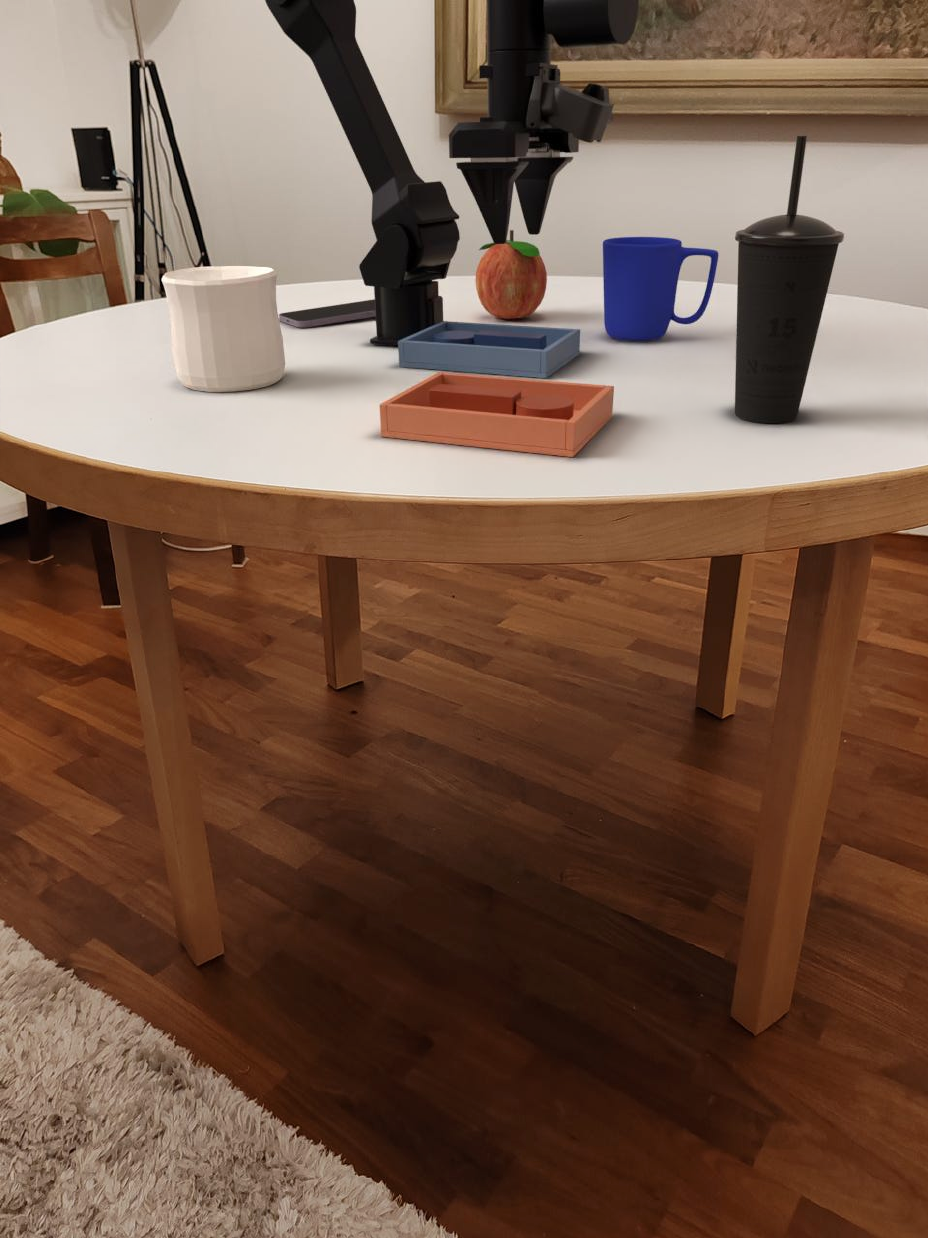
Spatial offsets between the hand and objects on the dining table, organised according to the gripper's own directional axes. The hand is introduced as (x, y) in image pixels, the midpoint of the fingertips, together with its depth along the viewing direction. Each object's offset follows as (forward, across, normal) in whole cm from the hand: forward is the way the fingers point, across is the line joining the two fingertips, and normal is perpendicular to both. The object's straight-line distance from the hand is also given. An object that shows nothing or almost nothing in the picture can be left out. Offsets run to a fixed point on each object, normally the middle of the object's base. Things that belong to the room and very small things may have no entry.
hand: (517, 238), depth 92 cm
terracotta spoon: (+11, -25, -8) cm, 28 cm away
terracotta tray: (+11, -25, -8) cm, 28 cm away
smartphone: (+11, +13, +28) cm, 33 cm away
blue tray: (+11, -3, +2) cm, 12 cm away
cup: (+11, -20, +21) cm, 31 cm away
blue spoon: (+11, -3, +2) cm, 11 cm away
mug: (+11, +13, -11) cm, 21 cm away
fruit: (+11, +20, +8) cm, 24 cm away
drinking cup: (+12, -14, -27) cm, 32 cm away
